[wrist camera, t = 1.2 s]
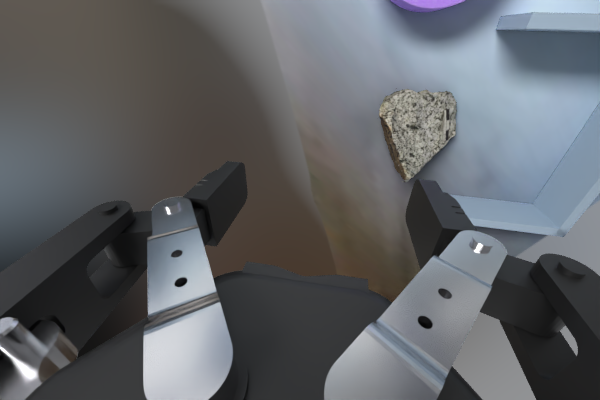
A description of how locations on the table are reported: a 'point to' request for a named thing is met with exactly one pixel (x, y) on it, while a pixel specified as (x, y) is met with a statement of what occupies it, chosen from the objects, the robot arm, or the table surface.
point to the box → (571, 170)
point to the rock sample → (417, 127)
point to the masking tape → (425, 4)
